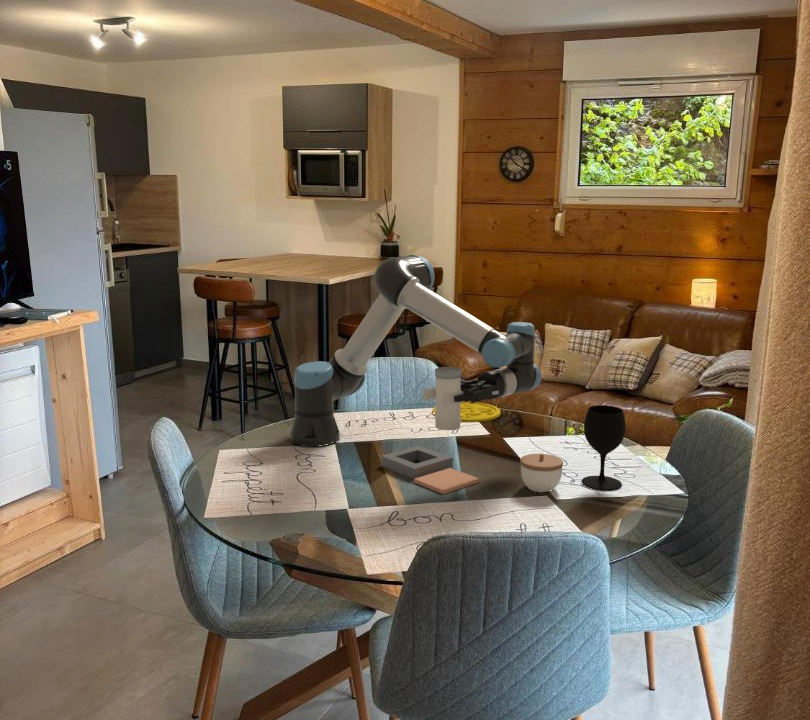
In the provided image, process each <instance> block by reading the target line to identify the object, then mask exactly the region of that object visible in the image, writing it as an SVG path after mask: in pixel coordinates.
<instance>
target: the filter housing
mask: <svg viewBox="0 0 810 720" xmlns="http://www.w3.org/2000/svg"><path fill="white" fill-rule="evenodd" d="M415 461H419V462H417V463H415ZM453 461H454V459H453V457H452V456H450V455H446V454H443V453H440V452H437V451H435V450H432V449H430V448H426V447H424V446H420V445H416V446H413V447H409V448H405V449H402V450H398V451H394V452H390V453H387V454H383V455H380V466H381V467H382V468H384V469H388V470H390V471H393V472H395V473H397V474H400V475H402V476H405V477H408V478H409V479H412V480H414V479H415V478H418V477H422V476H425V475H428V474H432V473H435V472H438V471H441V470H445V469H448V468H452V469H454V468H453V465H454V464H453V463H454V462H453Z"/></svg>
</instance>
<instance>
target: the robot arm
mask: <svg viewBox="0 0 810 720" xmlns="http://www.w3.org/2000/svg"><path fill="white" fill-rule="evenodd" d="M373 278H374V279H373V280H374V286H375V289H376V291H377V292H378V293H379V295H378V296H377V298H376V299H375V301H374V302H373V303H372V305H371V307H370V308H369V309H368V311H367V313H366V315H365V316H364V317H363V319H362V321H361V322H360V324H359V325H358V327H357V328H356V329H355V331H354V332H353V334H352V335H351V336H350V339H348V341H347V343H346V344H345V346H344V347H343V348H339V349H337V350H336V351H335V352H334V353H333V354H332V357H331V358H330V360H329V361H321V360H319V361H311V362H305V363H302V364H300V365H299V366H297V367H296V368H295V370H294V378H293V384H294V386H293V387H294V389H293V390H294V413H295V414H294V418H293V419H294V420H293V423H292V425H291V428H290V429H291V430H290V432H289V442H290V443H292V442H293V443H295V444H298V445H297V446H299V445H305V446H304V447H306V446H319V445H325V444H330V443H332V442H336V441H337V440H338V439H339V438H341V437H340V436H341V435H340V429H339V426H338V424H337V421H336V419H335V414H334V401H336V400H339V399H342V398H345V397H348V396H351V395H354V394H355V393H357V392H358V391H360V390H361V389H362V387H363V386H364V385H365V381H366V373H367V371H368V366H367V364H368V362H369V361H370V359H371V357H372V356H373V355H374V354H375V352H376V351H377V349H378V348H379V346H380V345H381V343H382V342H383V341H384V339H386V336H387V335H388V333H390V331H391V329H392V328H393V326H394V325H395V323H396V322H397V320H398V319H399V318H400V316H401V314H402V313H403V312H404V310H406V309H407V310H409V311H411V312H412V313H414V314H416V315H417V316H419V317H421V318H422V319H424V320H425V321H427V322H429V323H430V324H432V325H433V326H435V327H437V328H438V329H440V330H442V331H443V332H445V333H446V334H448V335H450V337H452V338H455V340H457V341H459V342H461V343H462V344H464V345H466V346H467V347H469V348H470V349H472V350H473V351H475V352H476V353H479V354H480V355H481V357H482V359H483V362H485V364H486V365H488V366H489V367H491V368H497V369H493V370H489V371H485V372H484V371H483V372H482V373H480V374H479V376H478V377H477V378H475V379H471V380H466V379H465V378H461V391H458V392H453V393H449V394H444V395H442V406H447V405H451V404H455V403H460V402H471V403H475V402H477V403H480V402H482V401H485V400H487V401H489V400H495V399H498V398H502V399H504V398H505V397H507V396H510V395H515V394H519V393H526V392H528V391H532V390H535V389H537V387H538V386H539V385H540V384H541V382H542V373H541V371H540V368H539V367H538V365H536V364H535V359H534V358H535V343H536V342H535V339H536V332H535V331H536V330H535V329H536V328H535V325H534V324H533V323H531V322H524V321H513V322H510V323H508V324H507V330H506V334H503V333H502V332H500V331H498V330H496V329H495V328H493V327H491V326H490V325H488V324H486V323H485V322H483V321H482V320H480V319H478V318H477V317H475V316H473V315H472V314H470V313H469V312H467V311H465V310H464V309H462V308H460V306H457V305H455V304H454V303H452V302H450V301H449V300H447V299H446V298H444V297H442V296H441V295H439V294H437V293H436V292H434V291H433V290H431V289H432V288H433V286H434V283H435V278H436V277H435V271H434V266H433V265H432V264H431V262H430V261H429V260H428V259H427V258H425V257H423V256H421V255H415V254H409V255H405V256H397V257H389V258H387V259H384V260H383V261H382V262H381V263H380V264H379V265H378V266H377V267H376V269H375V272H374V277H373ZM422 391H423V392H422V401H431V400H434V399H435V400H436V386H435V387H430V388H425V389H422ZM339 440H340V439H339ZM293 443H292V444H293ZM336 443H337V442H336ZM295 444H294V445H295ZM319 447H320V446H319Z"/></svg>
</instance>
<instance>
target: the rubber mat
mask: <svg viewBox="0 0 810 720" xmlns="http://www.w3.org/2000/svg"><path fill="white" fill-rule="evenodd" d="M413 482H414V483H415V484H418V485H420V486H422V487H424V488H427V489H429V490H432V491H435V492H437V493H439V494H442V495H445V494H448V493H451V492H454V491H456V490H460V489H463V488H466V487H469V486H472V485H475V484H479V483H480V478H478V477H476V476H473V475H471V474H468V473H465V472H462V471H460V470H456V469H454V468H448V469H445V470H441V471H438V472H435V473H432V474H428V475H425V476H422V477H418V478H415V479H413Z"/></svg>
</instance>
